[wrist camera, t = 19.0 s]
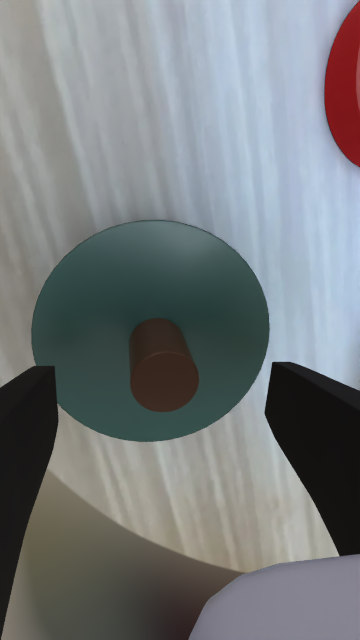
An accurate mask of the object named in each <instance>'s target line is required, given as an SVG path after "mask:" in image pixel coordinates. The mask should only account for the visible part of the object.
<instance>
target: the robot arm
mask: <svg viewBox="0 0 360 640" xmlns="http://www.w3.org/2000/svg"><path fill="white" fill-rule="evenodd" d="M265 416H266V418H267V421H268V423H269V426H270V428H271V430H272V433H273V435H274V437H275V439H276V441H277V442H278V444H279V446H280V447H281V449H282V451H283V452H284V454H285V456H286V457H287V459H288V461H289V462H290V464H291V465H292V467H293V469H294V470H295V472H296V473H297V475H298V477H299V478H300V480H301V482H302V483H303V485H304V486H305V488H306V490H307V491H308V493H309V495H310V496H311V498H312V500H313V502H314V503H315V505H316V507H317V509H318V511H319V513H320V515H321V517H322V519H323V521H324V523H325V525H326V528H327V530H328V532H329V534H330V536H331V538H332V540H333V542H334V544H335V547H336V549H337V551H338V553H339V557H331V558H322V559H314V560H305V561H296V562H288V563H279V564H276V565H273V566H269V567H266V568H263V569H260V570H256V571H253V572H250V573H247V574H243V575H240V576H239V577H238V578H236V579H235V580H233V581H232V582H231V583H230V584H229V585H227V586H226V587H224V588H223V589H222V590H220V591H219V592H218V593H217V594H215V595H214V596H213V597H211V598H210V599H209V600H208V601H207V603H206V604H205V606H204V608H203V610H202V612H201V614H200V616H199V618H198V620H197V622H196V624H195V627H194V629H193V631H192V633H191V635H190V637H189V640H360V391H359V390H356V389H354V388H352V387H349V386H347V385H345V384H342V383H340V382H338V381H335V380H333V379H331V378H329V377H326V376H324V375H322V374H320V373H317V372H315V371H313V370H311V369H308V368H306V367H303V366H301V365H298V364H295V363H292V362H272V368H271V374H270V381H269V387H268V393H267V400H266V406H265ZM57 427H58V407H57V392H56V378H55V366H33V367H31V368H30V369H28V370H26V371H25V372H23V373H22V374H20V375H19V376H17V377H16V378H14V379H13V380H11V381H10V382H8V383H7V384H5V385H4V386H2V387H1V388H0V640H1V636H2V631H3V627H4V622H5V617H6V612H7V608H8V604H9V599H10V595H11V590H12V586H13V581H14V577H15V572H16V568H17V563H18V560H19V555H20V551H21V547H22V543H23V538H24V535H25V531H26V528H27V524H28V521H29V517H30V514H31V512H32V509H33V506H34V503H35V500H36V498H37V495H38V492H39V489H40V486H41V483H42V480H43V477H44V475H45V472H46V469H47V466H48V463H49V460H50V457H51V454H52V451H53V447H54V442H55V438H56V432H57Z"/></svg>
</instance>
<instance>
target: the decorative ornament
mask: <svg viewBox="0 0 360 640" xmlns="http://www.w3.org/2000/svg"><path fill="white" fill-rule="evenodd" d="M325 109H326V115H327V119H328V123H329V127H330V130H331V132H332V135H333V137H334V139H335V141H336V143H337V145H338V146H339V148H340V149H341V151H342V152H343V153H344V154H345V156H346V157H347V158H348V159H349V160H350V161H352V162H353V163H354V164H355V165H357V166H358V167H360V1H359V2H358V3H357V4H356V5H355V6H354V8H353V9H352V10H351V11H350V13H349V14H348V16H347V17H346V19H345V20H344V22H343V24H342V25H341V27H340V29H339V31H338V33H337V36H336V38H335V40H334V43H333V46H332V49H331V52H330V56H329V60H328V65H327V70H326V78H325Z"/></svg>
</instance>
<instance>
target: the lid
mask: <svg viewBox="0 0 360 640" xmlns="http://www.w3.org/2000/svg"><path fill="white" fill-rule="evenodd" d="M31 335H32V349H33V355H34V360H35V363H36V366H55V378H56V392H57V403H58V404H59V405H60V406H61V407H62V409H63V410H65V411H66V412H67V413H68V414H69V415H70V416H72V417H73V418H74V419H76V420H77V421H79V422H80V423H82V424H83V425H85V426H87V427H89V428H91V429H93V430H95V431H97V432H99V433H102V434H105V435H107V436H110V437H114V438H118V439H123V440H129V441H138V442H154V441H164V440H170V439H174V438H179V437H182V436H186V435H189V434H192V433H194V432H196V431H199V430H201V429H203V428H205V427H207V426H209V425H210V424H212V423H214V422H215V421H217V420H219V419H220V418H221V417H223V416H224V415H225V414H227V413H228V412H229V411H230V410H231V409H232V408H233V407H234V406H235V405H237V404H238V403H239V402H240V400H241V399H242V398H243V397H244V396H245V394H246V393H247V392H248V390H249V389H250V387H251V386H252V384H253V383H254V381H255V380H256V378H257V376H258V374H259V372H260V370H261V367H262V364H263V361H264V359H265V356H266V351H267V347H268V341H269V313H268V308H267V303H266V299H265V296H264V293H263V290H262V287H261V285H260V283H259V281H258V279H257V277H256V275H255V274H254V272H253V271H252V269H251V268H250V267H249V265H248V264H247V262H246V261H245V260H244V259H243V258H242V257H241V256H240V255H239V254H238V253H237V252H236V251H235V250H234V249H233V248H232V247H230V246H229V245H228V244H227V243H225V242H224V241H223V240H221V239H219V238H218V237H216V236H214V235H212V234H211V233H209V232H206V231H204V230H202V229H199V228H197V227H194V226H191V225H187V224H183V223H180V222H174V221H166V220H141V221H134V222H128V223H124V224H120V225H117V226H114V227H110V228H108V229H106V230H103V231H101V232H99V233H97V234H95V235H93V236H91V237H90V238H88V239H87V240H85V241H83V242H82V243H80V244H79V245H78V246H76V247H75V248H74V249H73V250H72V251H71V252H69V253H68V254H67V255H66V256H65V257H64V258H63V259H62V260H61V262H60V263H59V264H58V265H57V266H56V267H55V268H54V270H53V271H52V273H51V274H50V276H49V277H48V279H47V280H46V282H45V284H44V286H43V288H42V290H41V292H40V294H39V297H38V299H37V303H36V306H35V310H34V313H33V320H32V328H31Z"/></svg>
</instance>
